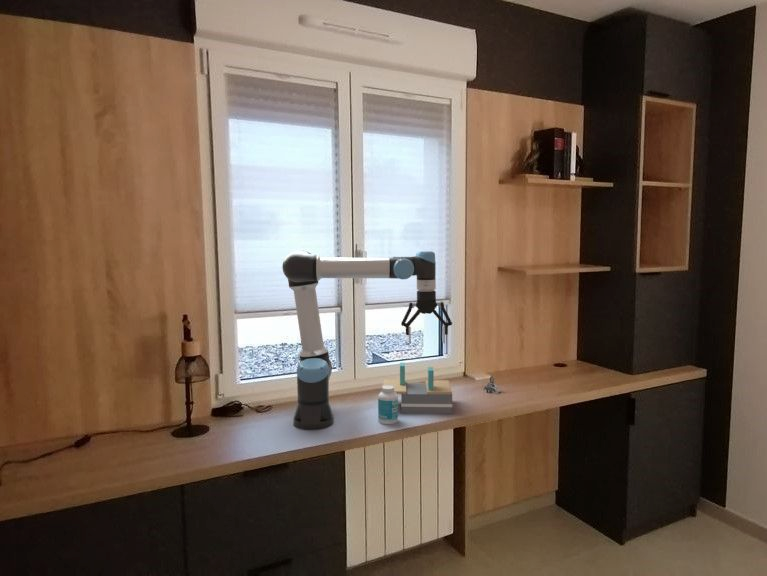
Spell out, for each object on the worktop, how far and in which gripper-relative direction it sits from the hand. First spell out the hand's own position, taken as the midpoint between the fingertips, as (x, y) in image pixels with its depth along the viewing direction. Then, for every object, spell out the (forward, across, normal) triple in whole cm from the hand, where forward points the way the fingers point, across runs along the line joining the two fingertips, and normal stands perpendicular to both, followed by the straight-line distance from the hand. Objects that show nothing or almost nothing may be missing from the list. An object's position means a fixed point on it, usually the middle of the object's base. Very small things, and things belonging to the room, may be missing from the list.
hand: (426, 342), depth 203 cm
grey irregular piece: (+28, +28, +22) cm, 46 cm away
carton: (+27, 0, +2) cm, 27 cm away
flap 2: (+19, +5, +2) cm, 20 cm away
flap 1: (+19, -13, +2) cm, 23 cm away
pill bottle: (+27, -16, -15) cm, 35 cm away
